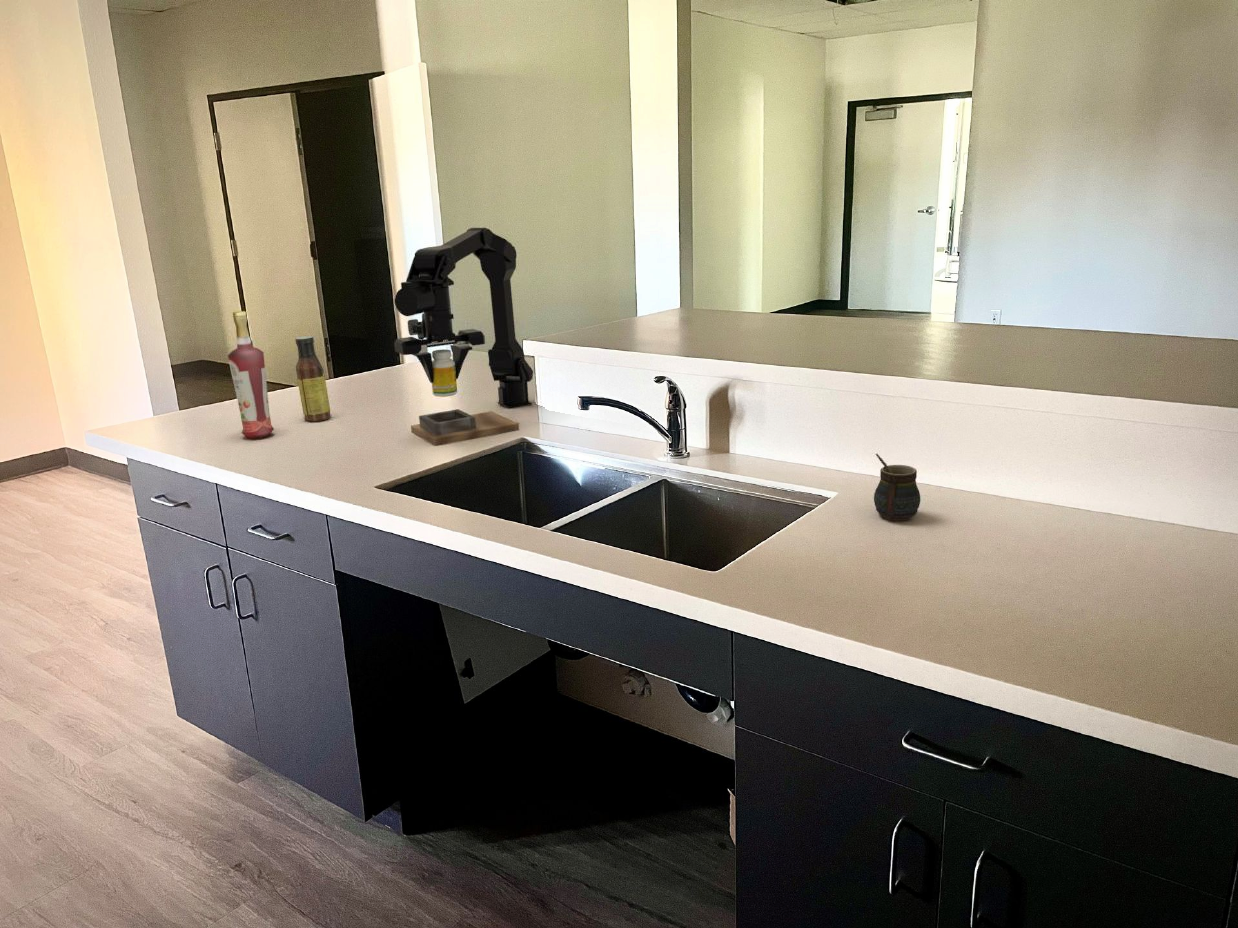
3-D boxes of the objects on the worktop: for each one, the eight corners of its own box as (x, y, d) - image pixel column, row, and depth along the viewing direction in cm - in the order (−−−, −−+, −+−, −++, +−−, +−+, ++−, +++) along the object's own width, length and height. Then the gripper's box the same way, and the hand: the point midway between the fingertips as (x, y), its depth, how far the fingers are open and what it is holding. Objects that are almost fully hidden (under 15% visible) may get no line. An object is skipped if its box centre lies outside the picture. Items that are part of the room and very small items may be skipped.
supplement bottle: (430, 393, 199) (425, 350, 196) (453, 390, 201) (449, 347, 198) (436, 398, 195) (432, 354, 192) (460, 395, 197) (456, 351, 194)
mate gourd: (913, 527, 140) (916, 466, 137) (865, 520, 144) (867, 460, 141) (925, 512, 146) (928, 454, 143) (878, 505, 150) (881, 448, 147)
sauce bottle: (336, 417, 218) (326, 335, 212) (318, 423, 213) (307, 340, 207) (315, 415, 221) (304, 334, 215) (297, 421, 216) (285, 338, 210)
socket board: (492, 417, 214) (490, 401, 212) (519, 429, 202) (517, 412, 201) (411, 431, 203) (409, 414, 202) (435, 445, 192) (433, 427, 191)
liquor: (281, 435, 204) (263, 311, 195) (250, 442, 199) (230, 315, 190) (266, 430, 209) (247, 308, 200) (235, 437, 204) (214, 313, 195)
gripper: (462, 301, 204) (468, 368, 208) (382, 310, 194) (390, 380, 199) (483, 306, 195) (488, 376, 199) (400, 315, 185) (408, 389, 190)
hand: (443, 380), depth 197 cm, fingers closed on supplement bottle, 5 cm apart
